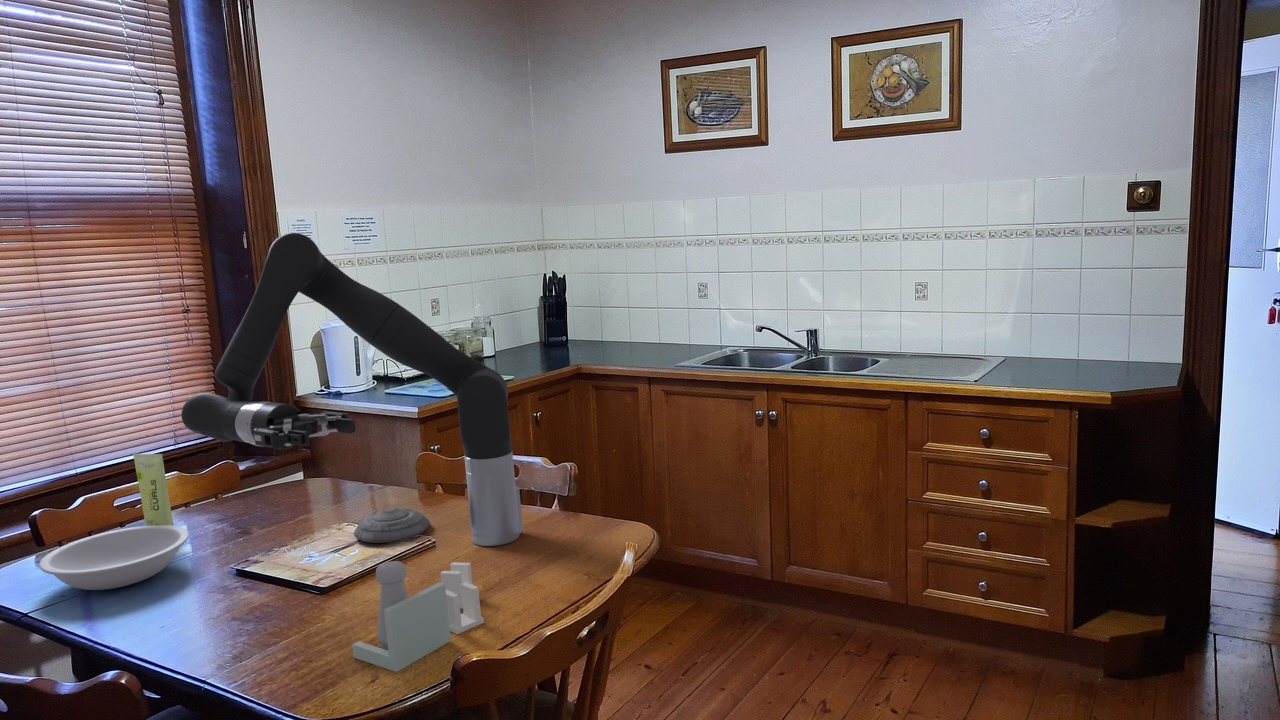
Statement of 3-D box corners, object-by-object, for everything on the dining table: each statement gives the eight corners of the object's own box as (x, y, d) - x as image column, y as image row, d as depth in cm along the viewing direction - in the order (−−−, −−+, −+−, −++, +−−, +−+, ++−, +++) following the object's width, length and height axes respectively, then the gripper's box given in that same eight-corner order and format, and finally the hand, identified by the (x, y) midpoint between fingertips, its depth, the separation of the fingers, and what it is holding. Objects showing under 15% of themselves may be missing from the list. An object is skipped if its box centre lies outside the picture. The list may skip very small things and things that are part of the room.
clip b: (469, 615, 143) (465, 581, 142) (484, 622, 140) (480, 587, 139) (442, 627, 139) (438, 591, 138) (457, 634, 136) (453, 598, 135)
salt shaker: (408, 658, 130) (399, 572, 128) (372, 656, 131) (362, 572, 129) (425, 639, 135) (416, 557, 133) (390, 638, 137) (381, 556, 134)
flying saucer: (341, 537, 184) (338, 511, 183) (407, 517, 194) (405, 493, 193) (376, 554, 173) (373, 526, 172) (444, 532, 183) (441, 506, 182)
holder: (408, 628, 140) (402, 573, 138) (450, 640, 134) (444, 583, 133) (353, 657, 131) (346, 599, 130) (396, 672, 126) (389, 611, 124)
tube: (144, 552, 181) (129, 458, 178) (147, 544, 186) (133, 453, 183) (175, 547, 184) (162, 454, 180) (177, 539, 188) (164, 448, 185)
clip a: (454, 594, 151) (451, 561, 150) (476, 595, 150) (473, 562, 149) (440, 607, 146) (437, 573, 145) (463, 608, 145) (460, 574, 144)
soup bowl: (134, 551, 182) (129, 520, 181) (222, 563, 173) (217, 530, 172) (13, 600, 161) (7, 565, 160) (107, 616, 151) (101, 579, 150)
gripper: (227, 411, 145) (288, 419, 136) (303, 394, 156) (365, 400, 147) (233, 457, 146) (294, 467, 137) (308, 436, 157) (370, 445, 148)
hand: (331, 432), depth 142 cm, fingers open, 8 cm apart
